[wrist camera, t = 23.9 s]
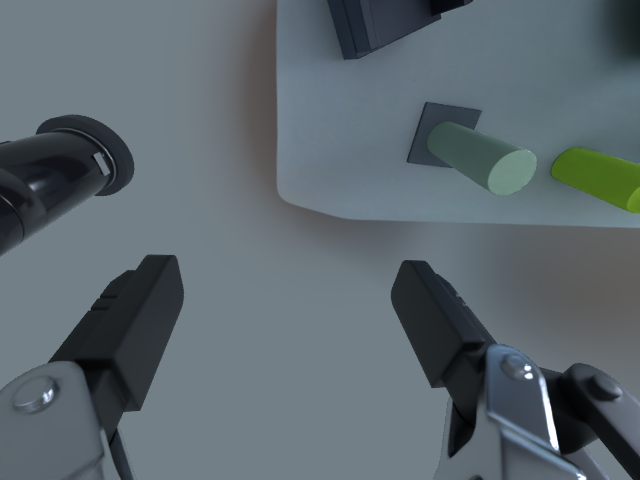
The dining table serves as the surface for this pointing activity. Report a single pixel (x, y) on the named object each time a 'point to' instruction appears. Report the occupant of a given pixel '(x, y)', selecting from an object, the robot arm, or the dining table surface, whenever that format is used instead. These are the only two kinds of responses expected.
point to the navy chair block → (382, 21)
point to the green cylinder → (482, 158)
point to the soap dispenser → (600, 176)
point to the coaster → (432, 118)
